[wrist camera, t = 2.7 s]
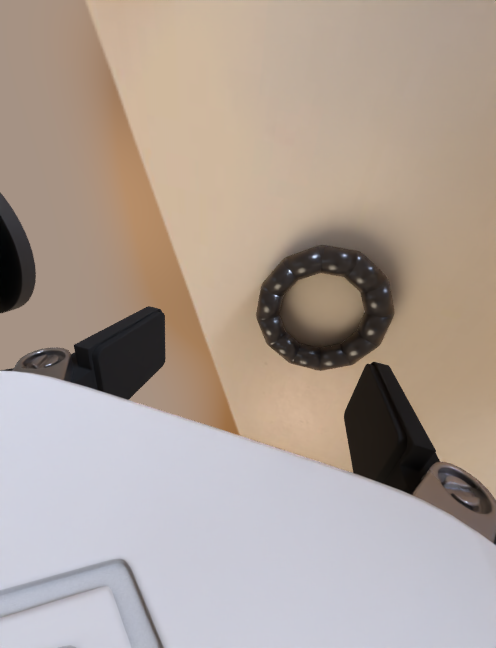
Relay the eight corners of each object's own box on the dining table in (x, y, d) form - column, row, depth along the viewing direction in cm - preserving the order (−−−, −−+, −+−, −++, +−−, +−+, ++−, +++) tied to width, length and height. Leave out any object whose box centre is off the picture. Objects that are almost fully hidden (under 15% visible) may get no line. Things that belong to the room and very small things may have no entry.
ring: (251, 346, 21) (247, 356, 19) (271, 235, 17) (268, 236, 15) (360, 373, 20) (365, 386, 18) (411, 259, 15) (423, 263, 14)
